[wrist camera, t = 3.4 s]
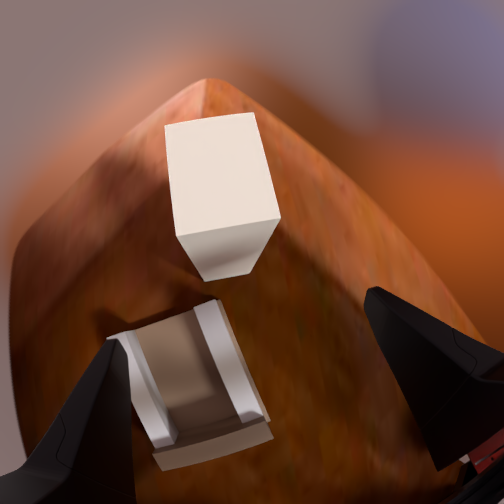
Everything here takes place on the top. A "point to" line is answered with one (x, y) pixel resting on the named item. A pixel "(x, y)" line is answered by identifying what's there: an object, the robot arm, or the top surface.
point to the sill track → (193, 388)
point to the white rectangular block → (220, 193)
